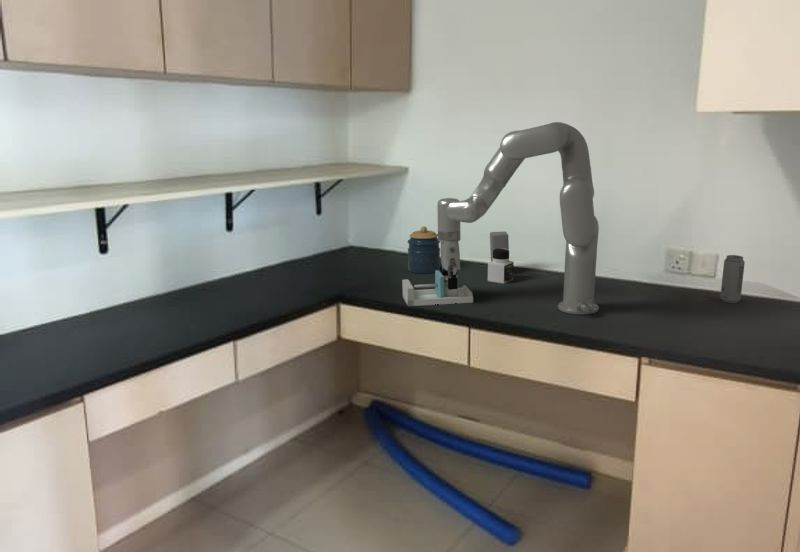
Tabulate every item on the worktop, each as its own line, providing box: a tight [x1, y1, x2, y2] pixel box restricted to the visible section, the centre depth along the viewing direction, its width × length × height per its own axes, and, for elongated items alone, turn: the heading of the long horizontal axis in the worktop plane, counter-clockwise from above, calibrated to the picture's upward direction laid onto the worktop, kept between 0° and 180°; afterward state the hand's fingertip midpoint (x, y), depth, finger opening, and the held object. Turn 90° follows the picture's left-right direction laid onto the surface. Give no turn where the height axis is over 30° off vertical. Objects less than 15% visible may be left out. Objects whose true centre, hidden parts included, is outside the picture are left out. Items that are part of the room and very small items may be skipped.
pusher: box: [413, 270, 444, 298], centre depth 232 cm, size 9×9×8 cm
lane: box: [402, 278, 474, 307], centre depth 233 cm, size 12×22×6 cm, turn 98°
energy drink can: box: [719, 254, 745, 304], centre depth 224 cm, size 6×6×15 cm
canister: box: [407, 225, 441, 274], centre depth 272 cm, size 13×13×18 cm
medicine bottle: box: [487, 248, 514, 284], centre depth 255 cm, size 7×7×12 cm
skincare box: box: [489, 230, 510, 262], centre depth 267 cm, size 8×7×16 cm
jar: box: [444, 275, 458, 298], centre depth 233 cm, size 6×6×7 cm
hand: (449, 285), depth 233 cm, fingers open, 9 cm apart
